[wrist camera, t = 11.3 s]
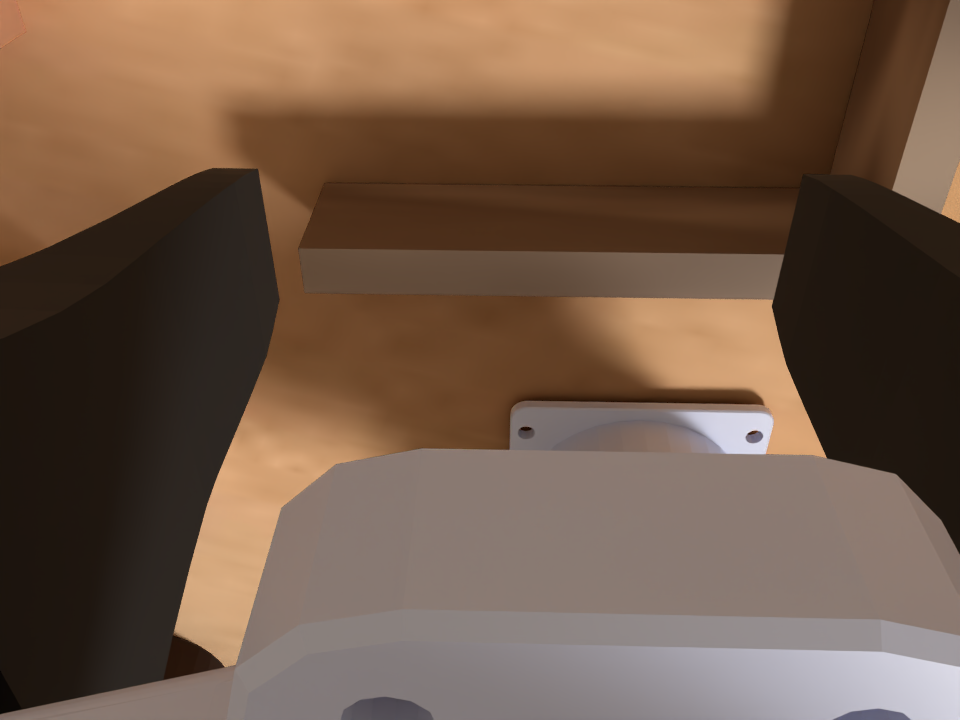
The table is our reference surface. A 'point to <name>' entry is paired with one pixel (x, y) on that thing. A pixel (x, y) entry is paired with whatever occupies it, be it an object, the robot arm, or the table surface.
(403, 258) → the open box
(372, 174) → the table surface
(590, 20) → the table surface
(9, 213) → the table surface
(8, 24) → the terracotta block
